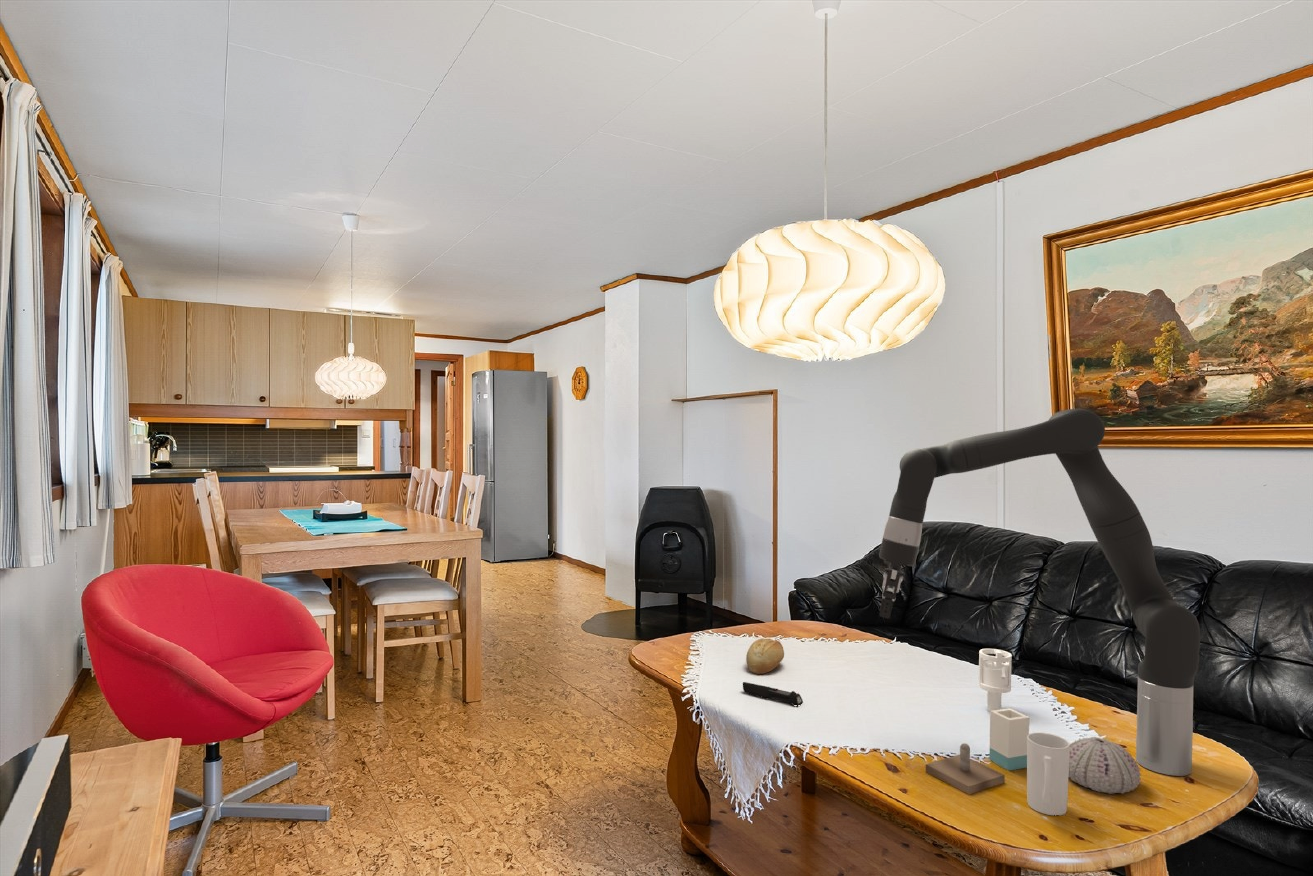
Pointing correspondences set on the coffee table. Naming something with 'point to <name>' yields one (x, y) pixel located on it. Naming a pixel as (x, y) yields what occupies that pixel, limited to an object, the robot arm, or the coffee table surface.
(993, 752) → the sleeve
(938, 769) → the pin board
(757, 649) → the bread roll
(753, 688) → the electric trimmer
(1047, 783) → the mug
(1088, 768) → the sea urchin shell
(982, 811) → the coffee table surface
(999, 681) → the strainer
